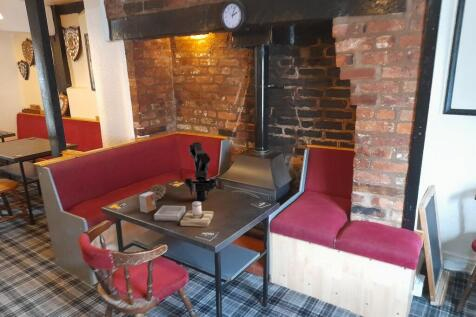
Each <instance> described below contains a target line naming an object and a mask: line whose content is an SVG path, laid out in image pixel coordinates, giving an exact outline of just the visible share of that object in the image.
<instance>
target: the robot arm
mask: <svg viewBox="0 0 476 317" xmlns="http://www.w3.org/2000/svg"><path fill="white" fill-rule="evenodd" d="M188 146H189V147H188V152H189V154H190V157H191V158H192V159H193V164H194V169H195V171H194V178H195V179H194V180H193V178H192V177H186V178H185V179H184V183H185V185H186V187H188V188H189V192H190V195H191V196H193V194H194V192H195V193H196V198H195V199H194V200H195V201H199V202H205V201H206V200H207V199H208V196H210V193H211V192H212V190H214V189H215V188H217V187H218V186H219V185H218V184H219V183H218V179H216V178H209V180H208V175H209V174H208V171H209V166H210V163H211V157H210V156H209V154H207V151H204V150H203V144H201V142H200V141H197V142H196V141H194V142H192V143H191V144H189V145H188Z"/></svg>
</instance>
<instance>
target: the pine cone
mask: <svg viewBox="0 0 476 317" xmlns="http://www.w3.org/2000/svg"><path fill="white" fill-rule="evenodd" d="M148 191H149V192H153V193H155V201H156V202H157V201H158V200H161V199H162V197H164V195H165V194H166V192H167V187H166V186H165V185H164V184H155V185H153V186H151V188H150V190H148Z"/></svg>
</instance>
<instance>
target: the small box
mask: <svg viewBox="0 0 476 317" xmlns="http://www.w3.org/2000/svg"><path fill="white" fill-rule="evenodd" d="M138 200H139V208H140V209H139V210H140V212H141V213H147V214H148V213H149V212H152V211H154V210H156V209H157V201H155V193H153V192H150V191H149V190H148V191H147V192H146V191H145V192H143V193H141V194H139V195H138Z"/></svg>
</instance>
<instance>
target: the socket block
mask: <svg viewBox="0 0 476 317" xmlns="http://www.w3.org/2000/svg"><path fill="white" fill-rule="evenodd" d="M213 217H214V211H209V210H207V211H206V210H202V219H193V211H192V210H187V211H186V212H185V213H184V215H183V216H182V217H181V219H180V220H179V221H180V226H181V227H183V226H185V227H207V228H208V227H209V225H210V223H211V220H212V219H213Z"/></svg>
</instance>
